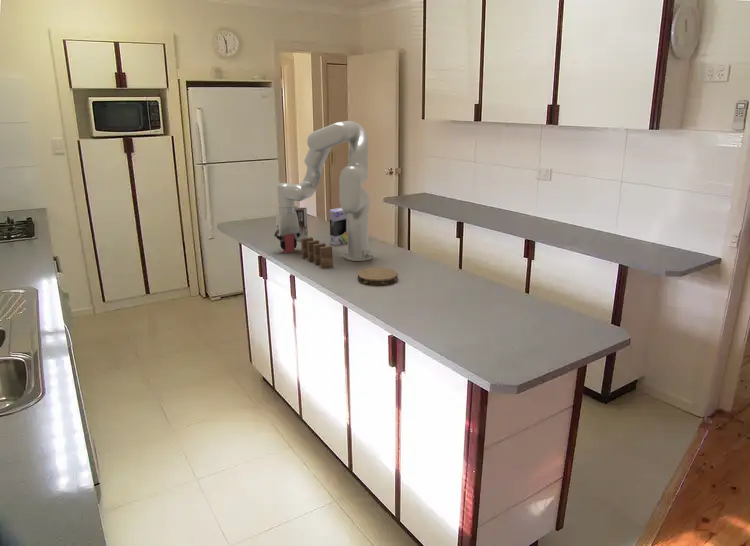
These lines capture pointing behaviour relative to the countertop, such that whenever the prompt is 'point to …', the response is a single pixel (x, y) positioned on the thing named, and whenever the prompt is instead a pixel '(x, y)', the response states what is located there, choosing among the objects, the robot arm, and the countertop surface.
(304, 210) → the coffee box
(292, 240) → the maroon domino
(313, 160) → the robot arm
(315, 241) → the domino
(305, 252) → the domino
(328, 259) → the domino
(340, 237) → the cake pan box
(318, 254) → the domino
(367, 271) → the wooden log slice
